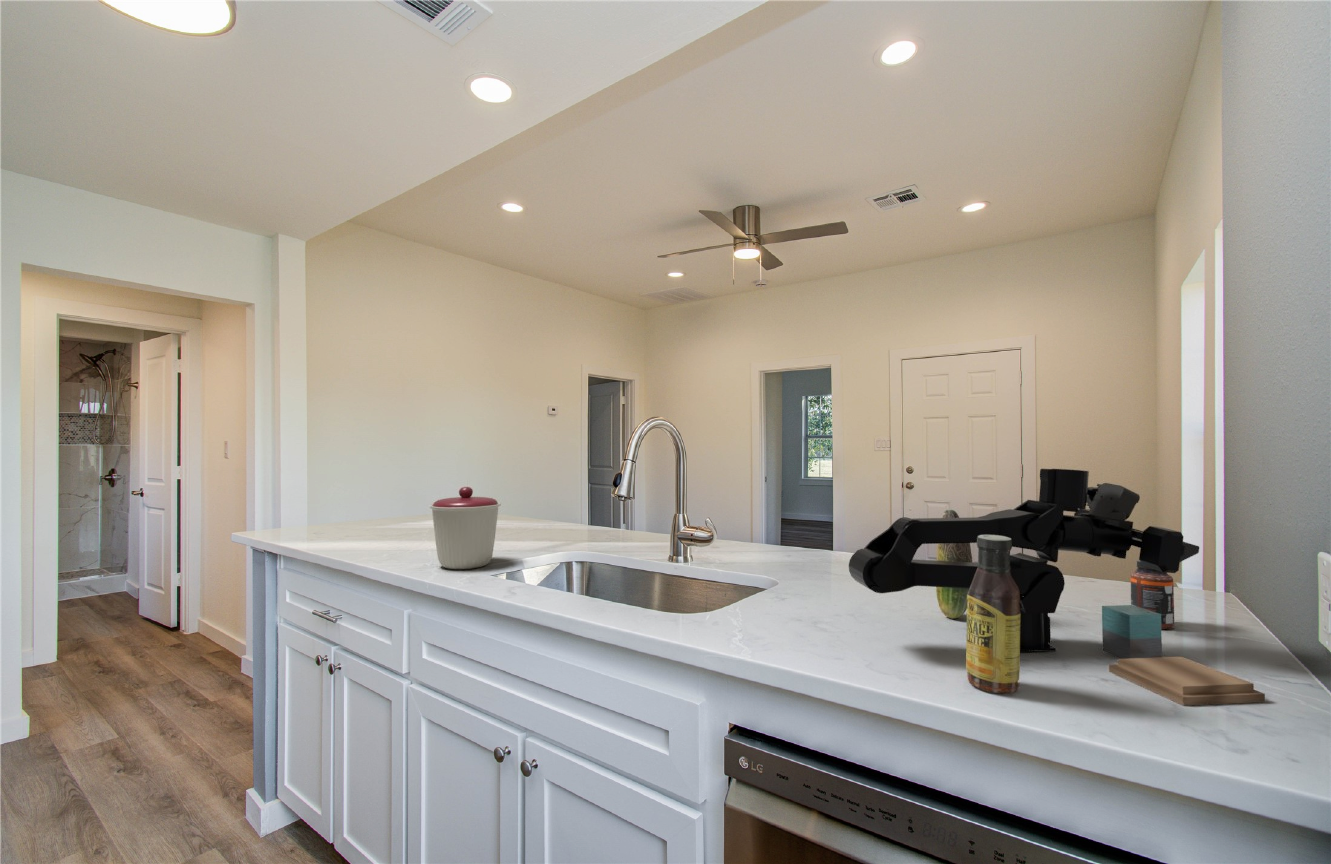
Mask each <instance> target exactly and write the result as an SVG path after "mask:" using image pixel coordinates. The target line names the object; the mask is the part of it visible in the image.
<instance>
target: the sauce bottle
mask: <svg viewBox="0 0 1331 864" xmlns="http://www.w3.org/2000/svg"><path fill="white" fill-rule="evenodd" d="M976 547H977V548H978V549H977V552H978V553H977V554H978V555H977V563H978V565H977V566H978V568H977V570H976V573H975V575H974V578H973V581H972V583H971V586H970V589H969V591H968V594H967V610H966V635H965V636H966V643H965V644H966V646H965V647H966V649H965V651H966V653H965V654H966V655H965V660H966V661H965V668H966V671H967V673H966V677H967V681H968V683H969V684H970V685H972V686H973V687H974V688H978V689H980V690H982V691H985V692H987V693H992V694H1011V693H1012V694H1013V693H1015V692H1016V691H1018V690H1019V686H1020V684H1019V681H1020V661H1021V660H1020V659H1021V656H1020V655H1021V652H1020V611H1019V608H1020V604H1019V602H1020V593H1019V589H1018V587H1017V585H1016V583H1015V582H1014V580H1013V579H1012V576H1011V573H1010V569H1011V567H1010V555H1011V550H1012V548H1013V547H1012V539H1011V538H1009V537H1005V536H999V535H979V536H978V537H977V543H976Z"/></svg>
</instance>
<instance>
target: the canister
mask: <svg viewBox="0 0 1331 864" xmlns="http://www.w3.org/2000/svg"><path fill="white" fill-rule="evenodd" d="M473 493H474V491H473V488H472V487H469V486H464V487H463V486H462V487H461V488H460V489H459V491H458V495H459V497H458V496H456V497H447V498H441V499H437V500H436V501H435V502H433V503H432V504H430V505H429V508H430V509H431V510H432V520H433V521H432V523H433V530H434V540H435V546H436V555H437V560H438V562H439V564H440V565H441V566H442V567H443V568H446V569H449V570H471V569H478V568H482V567H484V566H487V565H488V564H490V562H491V561H492V558H493V554H494V547H495V539H496V531H497V524H498V523H497V522H498V515H499V507H500V506H501V504H502V503H501V502H499V501H498V500H496V499H494V498H493V497H487V496H486V497H485V496H473Z"/></svg>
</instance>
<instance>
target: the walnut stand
mask: <svg viewBox="0 0 1331 864" xmlns="http://www.w3.org/2000/svg"><path fill="white" fill-rule="evenodd" d="M1108 672H1110V673H1111V674H1113V675H1115V676H1118V677H1120V678H1123V679H1125V680H1126V681H1129V682H1131V683H1133V684H1136V685H1138V686H1140V687H1142V688H1144V689H1146V690H1149V691H1150V692H1153V693H1155V694H1157V695H1159V696H1161V697H1164V698H1166V699H1168V700H1170V701H1172V702H1175V703H1177V704H1179V705H1181V706H1205V705H1223V704H1225V705H1226V704H1227V705H1228V704H1246V703H1247V704H1248V703H1249V704H1250V703H1251V704H1252V703H1265V702H1266V693H1263V692H1261V691H1259V690H1255V688H1254V683H1253V682H1250V681H1247V680H1245V679H1242V678H1239V677H1237V676H1234V675H1231V674H1228V673H1226V672H1223V671H1220V670H1218V669H1216V668H1213V667H1209V666H1207V665H1204V664H1201V663H1198V662H1197V661H1193V660H1191V659H1188V658H1185V657H1183V656H1162V657H1158V658H1131V659H1120V658H1117V663H1115V664H1112V663H1111V664H1109V666H1108Z"/></svg>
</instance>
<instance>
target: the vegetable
mask: <svg viewBox="0 0 1331 864" xmlns="http://www.w3.org/2000/svg"><path fill="white" fill-rule="evenodd" d="M941 518H960V516H959V514H958V513H957V511H955V510H954V509H946V510H945V511H944V512H943V514H942V517H941ZM971 547H972V546H971V543H942V544H937V547H936V561H954V562H972V563H974V561H973V555H972V548H971ZM935 589H936V590H935V592H936V599H937V603H938V607H939V609H940V611H941V612H942V614H943V615H944V616H945V617H947V618H948V619H958V618H961V617H963V615H964V614H965V613H966V612H967V594H968V591H969V589H967V588H948V587H935Z"/></svg>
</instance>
